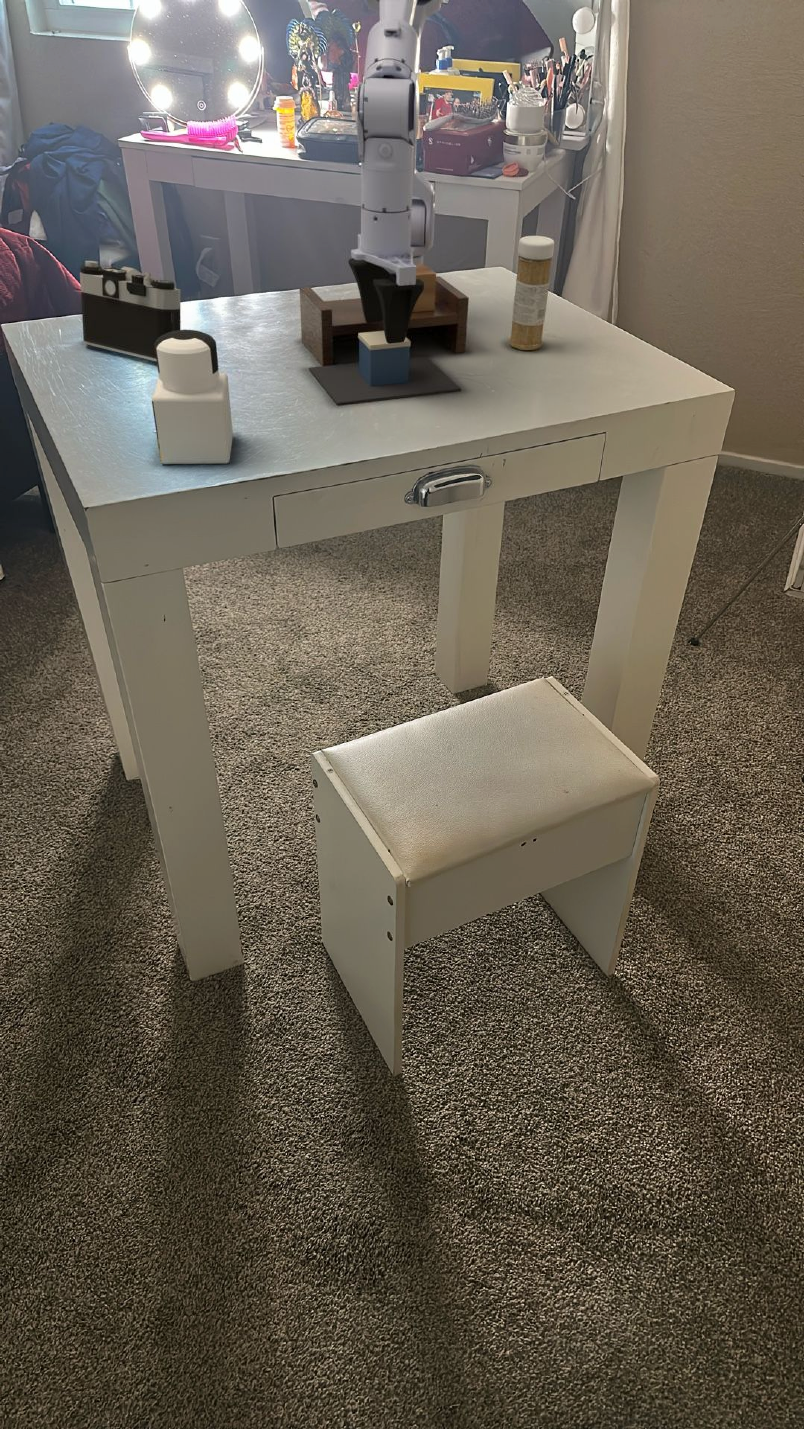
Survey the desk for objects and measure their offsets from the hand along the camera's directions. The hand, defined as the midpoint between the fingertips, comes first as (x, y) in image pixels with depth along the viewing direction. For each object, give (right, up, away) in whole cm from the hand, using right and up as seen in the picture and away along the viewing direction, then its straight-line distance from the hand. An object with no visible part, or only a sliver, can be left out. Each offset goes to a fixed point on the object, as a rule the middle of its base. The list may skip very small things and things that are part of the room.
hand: (384, 331), depth 113 cm
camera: (-32, +3, +11) cm, 34 cm away
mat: (0, -5, +4) cm, 6 cm away
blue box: (0, -4, +4) cm, 6 cm away
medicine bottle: (-20, -18, -13) cm, 30 cm away
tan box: (+4, +8, +11) cm, 14 cm away
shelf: (0, +3, +13) cm, 13 cm away
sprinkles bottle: (+19, +4, +15) cm, 25 cm away
